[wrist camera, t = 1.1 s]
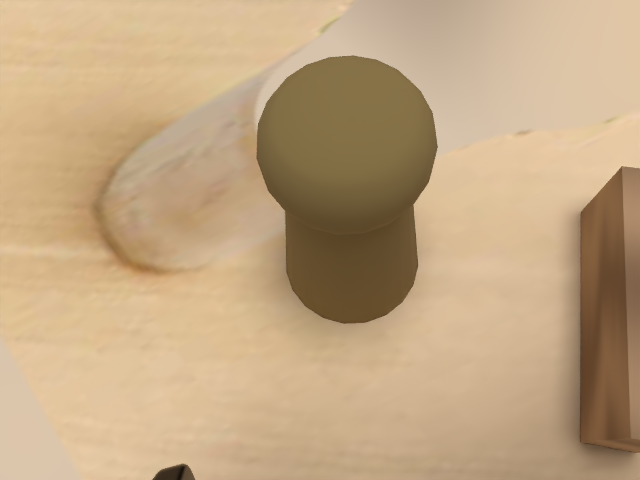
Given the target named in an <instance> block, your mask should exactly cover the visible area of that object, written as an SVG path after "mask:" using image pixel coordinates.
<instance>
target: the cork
mask: <svg viewBox="0 0 640 480" xmlns="http://www.w3.org/2000/svg"><path fill="white" fill-rule="evenodd" d="M437 147H438V146H437V139H436V132H435V125H434V119H433V113H432V111H431V109H430V108H429V105H428V104H427V102H426V100H425V98H424V96H423V95H422V93H421V91H420V90H419V89H418V88H417V87H416V86H415V85H414V84H413V83H411V81H410V80H408V79H407V78H406V77H405V76H404V75H403V74H402V73H401V72H400V71H398V70H397V69H395V68H393V67H391V66H389V65H386V64H384V63H382V62H380V61H378V60H375V59H369V58H364V57H357V56H342V57H330V58H326V59H323V60H320V61H317V62H314V63H311V64H308V65H306V66H304V67H303V68H301V69H299V70H298V71H296V72H295V73H293V74H292V75H290V76H289V77H287V78H286V80H285V81H284V82H283V83H282V84H281V85H280V87H279V88H278V89H277V90H276V91H275V93H274V94H273V95H272V96H271V97H270V99H269V100H268V101H267V103H266V106H265V108H264V111H263V113H262V116H261V118H260V121H259V123H258V132H257V161H258V164H259V166H260V169H261V172H262V175H263V178H264V180H265V183H266V186H267V188H268V191H269V192H270V193H271V195H272V196H273V197H274V198H275V199H276V201H277V202H278V203H279V204H280V205H281V207H282V208H283V209H284V210H285V218H286V269H287V274H288V277H289V280H290V283H291V286H292V289H293V291H294V292H295V293H296V295H297V296H298V297H299V299H300V300H301V301H302V302H303V304H304V305H305V306H306V307H308V308H309V309H311V310H312V311H314V312H315V313H317V314H318V315H320V316H321V317H323V318H326V319H330V320H333V321H337V322H341V323H364V322H368V321H371V320H374V319H376V318H379V317H382V316H384V315H386V314H388V313H389V312H390V311H391V310H393V309H394V308H395V307H397V306H398V305H399V304H400V303H402V302H403V300H404V299H405V297H406V295H407V294H408V292H409V291H410V289H411V288H412V286H413V284H414V280H415V276H416V272H417V268H418V259H417V246H416V233H415V220H414V207H413V204H414V203H415V201H416V200H417V198H418V197H419V195H420V194H421V193H422V191H423V190H424V188H425V187H426V185H427V184H428V182H429V179H430V175H431V172H432V168H433V164H434V160H435V156H436V151H437Z"/></svg>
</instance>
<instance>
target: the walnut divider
mask: <svg viewBox="0 0 640 480" xmlns="http://www.w3.org/2000/svg"><path fill="white" fill-rule="evenodd" d="M581 442H584V443H589V444H594V445H599V446H605V447H610V448H615V449H620V450H625V451H630V452H635V453H640V169H639V168H631V167H623V166H622V167H621V168H620V169H619V170H618V171H617V173H616V174H615V175H614V176H613V177H612V178H611V179H610V180H609V181H608V183H607V184H606V185H605V186H604V187H603V188H602V189H601V190H600V192H599V193H598V194H597V195H596V196H595V197H594V198H593V199H592V200H591V202H590V203H589V204H588V205H587V206H586V207H585V208H584V209H583V210H582V212H581Z"/></svg>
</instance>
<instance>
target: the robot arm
mask: <svg viewBox="0 0 640 480" xmlns="http://www.w3.org/2000/svg"><path fill="white" fill-rule="evenodd" d="M152 480H195V478H194V476H193V473H192V471H191V469H190V468H189V466H188V465H186V464H180V465H176V466H172V467H168V468H165V469H162V470H160V471H159V472H158V473H157V474H156V475H155V477H154V478H153V479H152Z"/></svg>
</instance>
